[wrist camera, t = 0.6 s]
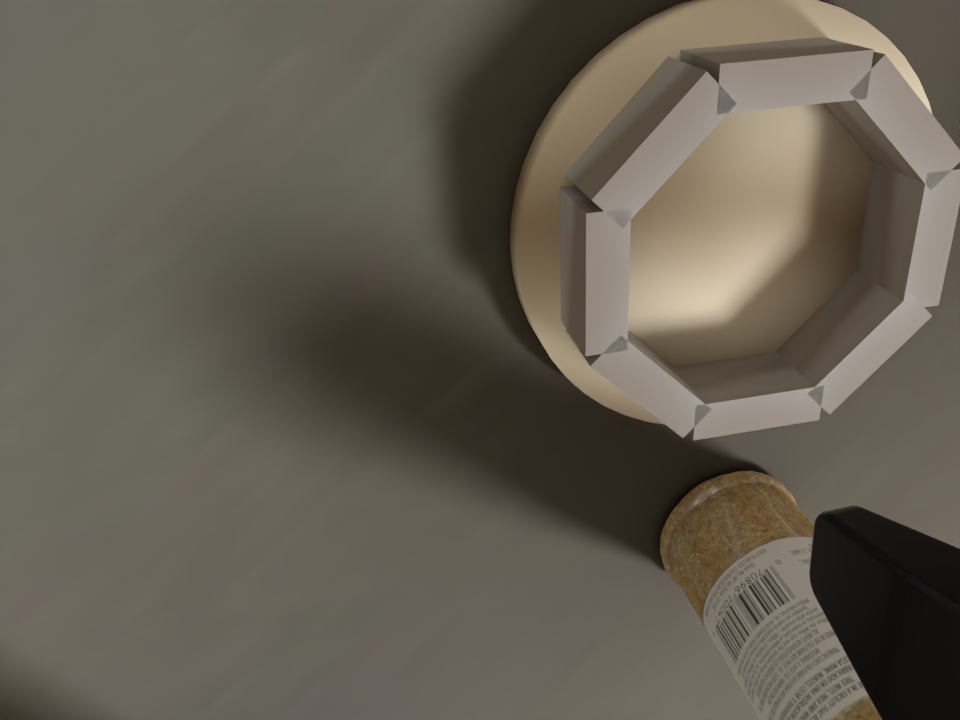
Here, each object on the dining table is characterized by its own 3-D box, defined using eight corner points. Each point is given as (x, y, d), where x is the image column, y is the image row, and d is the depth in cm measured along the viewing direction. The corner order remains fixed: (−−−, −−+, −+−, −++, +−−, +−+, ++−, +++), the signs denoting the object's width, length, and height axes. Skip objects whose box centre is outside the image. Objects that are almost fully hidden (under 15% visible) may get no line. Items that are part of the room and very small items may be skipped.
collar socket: (878, 377, 26) (944, 430, 24) (516, 434, 24) (546, 498, 22) (951, -26, 21) (1047, -16, 18) (501, 10, 19) (536, 26, 17)
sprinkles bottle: (703, 604, 29) (995, 1078, 17) (626, 530, 27) (899, 1012, 15) (816, 518, 28) (1200, 951, 17) (747, 435, 26) (1130, 864, 14)
